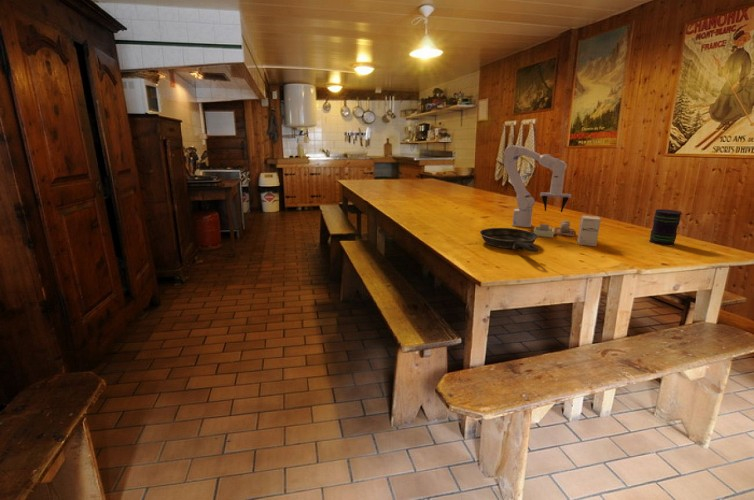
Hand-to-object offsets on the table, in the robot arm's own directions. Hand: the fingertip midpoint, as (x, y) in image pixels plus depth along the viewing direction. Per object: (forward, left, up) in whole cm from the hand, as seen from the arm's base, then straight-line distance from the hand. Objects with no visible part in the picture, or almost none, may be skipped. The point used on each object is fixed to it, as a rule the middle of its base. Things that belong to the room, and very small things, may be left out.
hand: (553, 211), depth 207 cm
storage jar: (+48, -5, -10) cm, 49 cm away
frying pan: (-14, -46, -10) cm, 49 cm away
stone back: (+6, 0, -10) cm, 12 cm away
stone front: (-3, -14, -9) cm, 17 cm away
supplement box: (+16, -23, -10) cm, 30 cm away
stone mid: (+6, -4, -10) cm, 12 cm away
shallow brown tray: (+6, -4, -10) cm, 13 cm away
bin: (-3, -14, -10) cm, 17 cm away
